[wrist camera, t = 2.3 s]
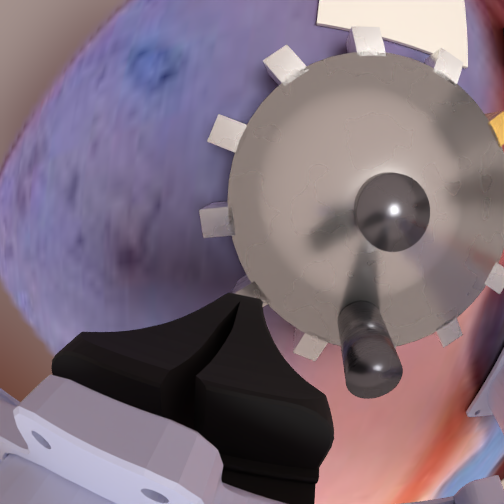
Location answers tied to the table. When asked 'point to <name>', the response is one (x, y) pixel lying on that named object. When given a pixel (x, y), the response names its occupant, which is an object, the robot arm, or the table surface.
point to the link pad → (404, 22)
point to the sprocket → (364, 203)
